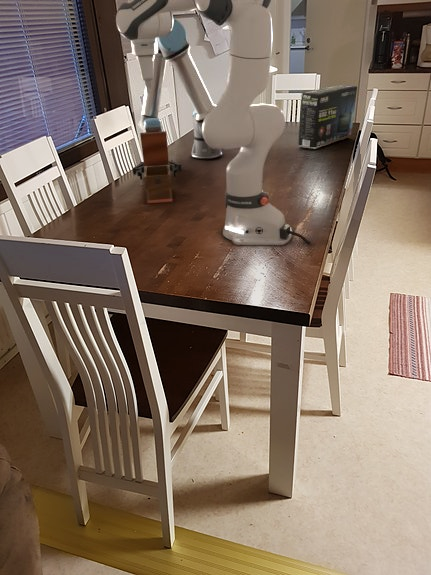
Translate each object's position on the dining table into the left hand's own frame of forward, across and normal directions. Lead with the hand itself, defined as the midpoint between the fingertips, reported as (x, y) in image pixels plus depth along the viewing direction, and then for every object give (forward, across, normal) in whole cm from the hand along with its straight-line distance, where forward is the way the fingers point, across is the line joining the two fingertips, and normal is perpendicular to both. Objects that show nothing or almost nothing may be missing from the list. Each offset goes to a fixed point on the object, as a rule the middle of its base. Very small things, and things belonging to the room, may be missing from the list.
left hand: (157, 175), depth 183 cm
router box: (-57, -90, -7) cm, 107 cm away
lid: (+1, 0, +10) cm, 10 cm away
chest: (+5, 0, -7) cm, 9 cm away
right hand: (+4, 0, +32) cm, 32 cm away
